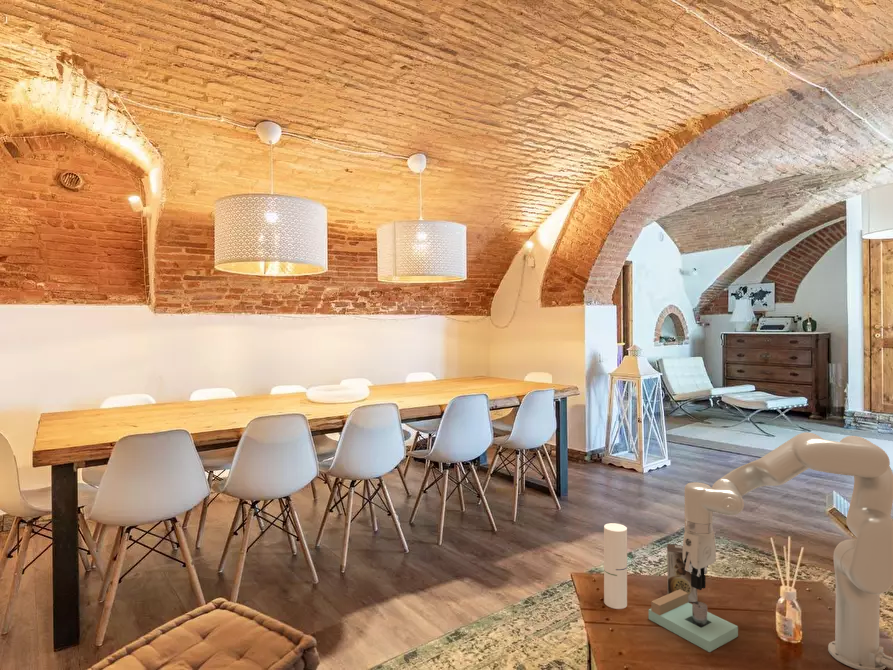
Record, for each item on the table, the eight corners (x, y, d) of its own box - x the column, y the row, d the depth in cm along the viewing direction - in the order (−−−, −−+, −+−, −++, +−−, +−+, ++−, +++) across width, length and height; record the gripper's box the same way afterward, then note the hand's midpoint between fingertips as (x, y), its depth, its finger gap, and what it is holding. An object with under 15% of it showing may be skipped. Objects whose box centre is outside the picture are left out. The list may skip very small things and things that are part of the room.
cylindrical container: (630, 609, 173) (629, 531, 173) (607, 608, 174) (607, 531, 173) (623, 597, 181) (623, 523, 180) (601, 597, 181) (601, 523, 180)
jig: (737, 636, 158) (738, 616, 158) (709, 652, 150) (709, 631, 150) (676, 606, 175) (676, 587, 175) (648, 619, 167) (648, 599, 167)
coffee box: (696, 594, 182) (696, 546, 182) (697, 603, 176) (697, 554, 176) (667, 589, 186) (667, 542, 185) (667, 598, 180) (667, 550, 179)
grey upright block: (710, 632, 160) (710, 605, 160) (702, 637, 158) (702, 609, 158) (697, 626, 163) (697, 600, 163) (689, 630, 161) (689, 604, 161)
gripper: (694, 535, 153) (694, 600, 153) (725, 524, 161) (725, 585, 162) (670, 527, 159) (670, 589, 160) (702, 516, 167) (701, 575, 168)
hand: (698, 587), depth 161 cm, fingers closed
